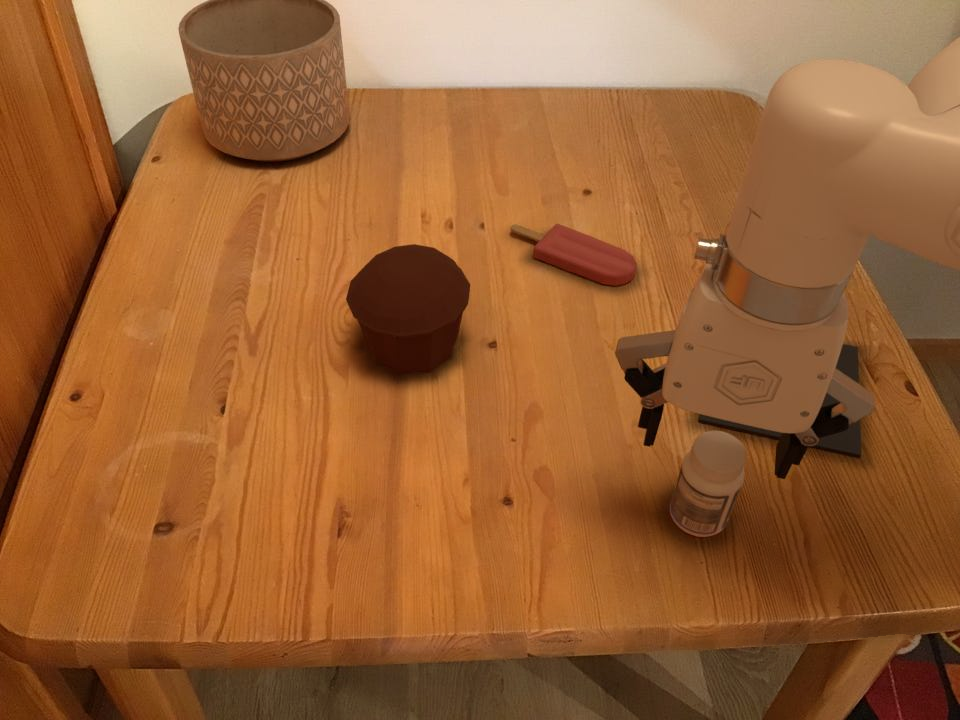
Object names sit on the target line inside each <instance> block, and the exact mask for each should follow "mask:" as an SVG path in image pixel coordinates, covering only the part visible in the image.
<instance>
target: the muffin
mask: <svg viewBox="0 0 960 720" xmlns="http://www.w3.org/2000/svg"><path fill="white" fill-rule="evenodd" d="M347 289H348V290H347V293H346V297H345V301H346V303H347V305H348V308H349V310H350V312H351V314H352V317H353V318H354V319H356V320H357V323H358V326H359V328H360V331H361V335H362V337H363V341H364V343H365V346H366V348H367V349H368V351H369V352H370V354H371V355H372V358H373V361H374V362H375V365H377V366H379V367H382V368H384V369H385V368H386V369H387V370H391V371H392V372H395V373H397V374H398V375H399V376H403V375H409V374H416V373H417V374H418V373H420V374H421V373H423V374H424V373H432V372H433V371H434V370H435V369H437V368H438V367H439V366H441V365H442V364H444V363H446V362H448V361H450V360H452V359H453V353H454V350H455V345H456V343H457V341H458V337H459V334H460V328H461V324H462V320H463V319H462V318H463V315H464V311H465V310H466V309H467V307H468V305H469V302H470V301H469V300H470V291H471V283H470V281H469V280H468V278H467V277H466V274H465V273H464V271H463V270H462V268H461V267H459V265H458V264H457V262H456V261H455V260H454V259H453V258H452V257H450V255H447V254H445V253H444V252H442V251H441V250H439V249H437V248H436V247H434V246H433V247H432V246H426V245H421V244H416V243H415V244H406V245H405V244H404V245H397V246H393V247H391V248H389V249H386V250H384V251H381V252H380V253H377V254H375V255H374V256H373V257H372V258H371V259H370V260H369V261H368V262H367V263H366V264H365V265H364V266H363V267H362V268H361V269H360V270H359V271H358V272H357V273H356V275H355V276H354V277H353V278H352V279H351V280H350V281H349V287H348V288H347Z"/></svg>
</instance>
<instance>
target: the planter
mask: <svg viewBox="0 0 960 720" xmlns="http://www.w3.org/2000/svg"><path fill="white" fill-rule="evenodd" d="M340 17H341V16H340V14H339V12H338V10H337V9H336V8H335V7H334V5H333V4H331V3H330V2H328V1H327V0H206V1H204V2H202V3H199V4H198V5H196V6H195V7H193V8H192V9H190V10H189V11H187V12H186V13H185V15H183V17H182V18H181V20H180V22H179V24H178V27H177V29H178V36H179V39H180V43H181V46H182V51H183V56H184V60H185V64H186V68H187V73H188V76H189V80H190V85H191V89H192V93H193V97H194V101H195V105H196V110H197V113H198V117H199V121H200V126H201V131H202V134H203V136H204V138H205V139H206V141H207V142H208V143H209V144H210V145H211V146H212V147H214V148H215V149H217V150H218V151H221V152H223V153H224V154H227V155H230V156H233V157H236V158H242V159H246V160H251V161H254V162H255V161H258V162H269V163H270V162H271V163H272V162H273V163H274V162H286V161H291V160H292V161H293V160H297V159H300V158H303V157H307V156H310V155H312V154H314V153H316V152H318V151H319V150H322V149H324V148H326V147H328V146H330V145H331V144H333V143H334V142H335V141H337V140H338V139H339V138H340V137H342V135H343V134H344V133H345V132H346V130H347V128H348V127H349V124H350V120H351V115H350V107H349V106H350V105H349V95H348V87H347V75H346V66H345V65H346V64H345V56H344V48H343V47H344V46H343V36H342V26H341V18H340Z"/></svg>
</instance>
